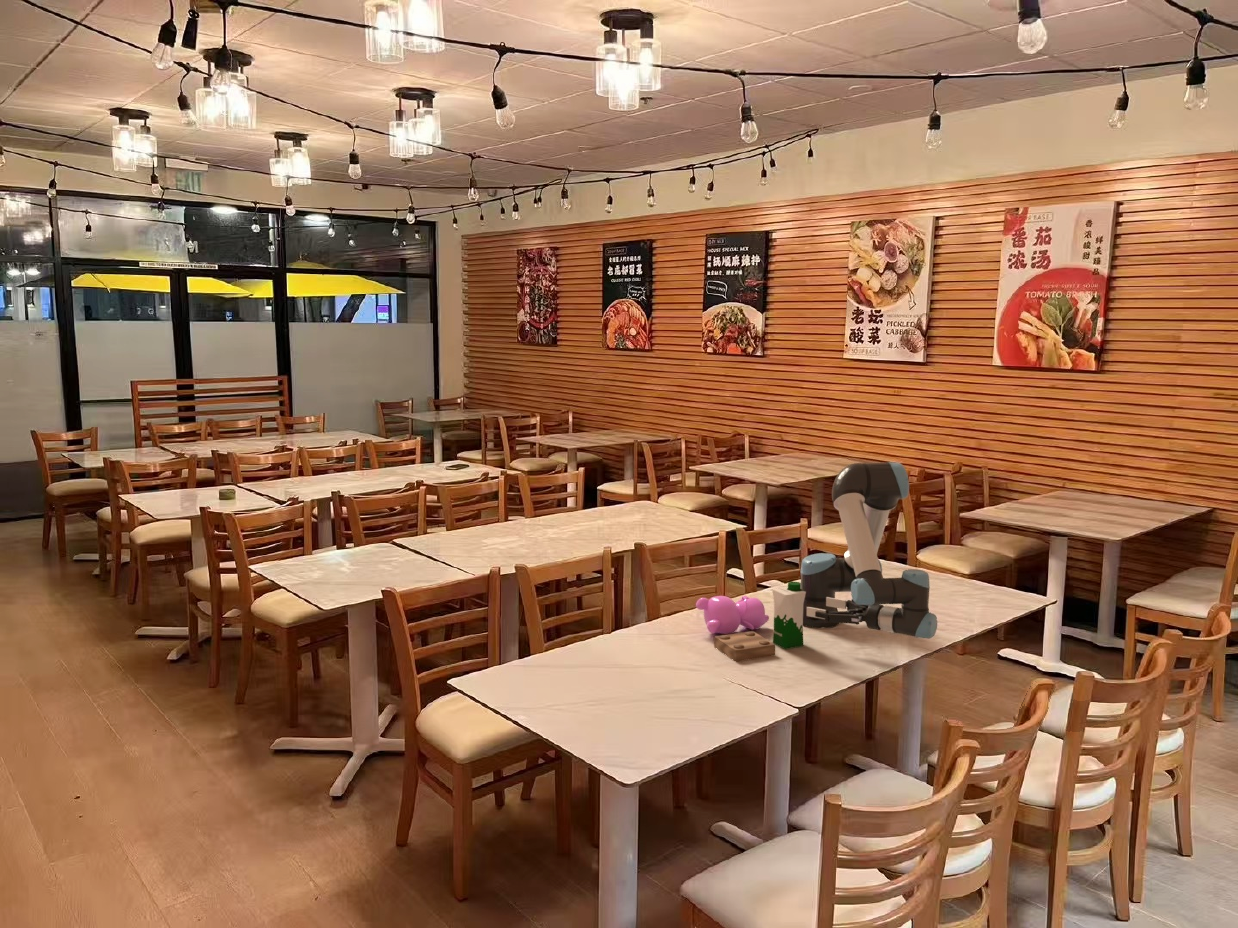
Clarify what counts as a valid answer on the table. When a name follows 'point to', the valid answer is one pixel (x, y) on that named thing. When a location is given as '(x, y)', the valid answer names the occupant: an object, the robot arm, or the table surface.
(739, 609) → the toy character
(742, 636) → the base brick
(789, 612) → the soya milk
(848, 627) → the table surface
